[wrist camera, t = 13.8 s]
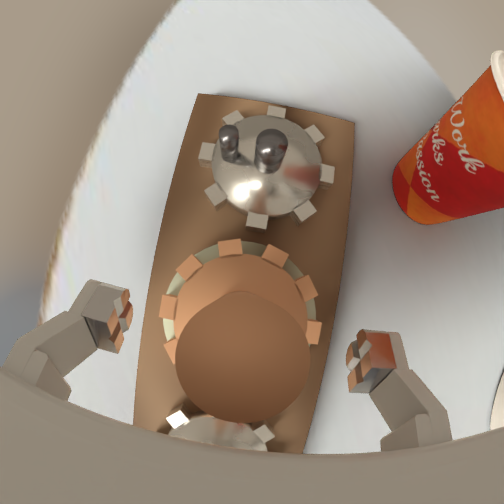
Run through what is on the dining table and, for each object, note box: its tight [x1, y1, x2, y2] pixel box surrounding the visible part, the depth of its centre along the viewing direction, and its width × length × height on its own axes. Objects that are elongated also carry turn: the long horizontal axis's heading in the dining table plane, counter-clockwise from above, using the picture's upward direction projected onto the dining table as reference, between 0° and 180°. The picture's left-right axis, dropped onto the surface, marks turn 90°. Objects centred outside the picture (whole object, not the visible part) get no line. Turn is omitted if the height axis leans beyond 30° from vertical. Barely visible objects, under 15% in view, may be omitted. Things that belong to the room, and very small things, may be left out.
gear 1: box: [198, 105, 335, 233], centre depth 16 cm, size 8×8×4 cm
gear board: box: [133, 93, 355, 454], centre depth 17 cm, size 11×28×2 cm, turn 170°
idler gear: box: [159, 239, 322, 423], centre depth 12 cm, size 8×8×10 cm
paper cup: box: [392, 50, 504, 225], centre depth 13 cm, size 8×8×14 cm
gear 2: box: [158, 403, 275, 452], centre depth 14 cm, size 8×8×4 cm
